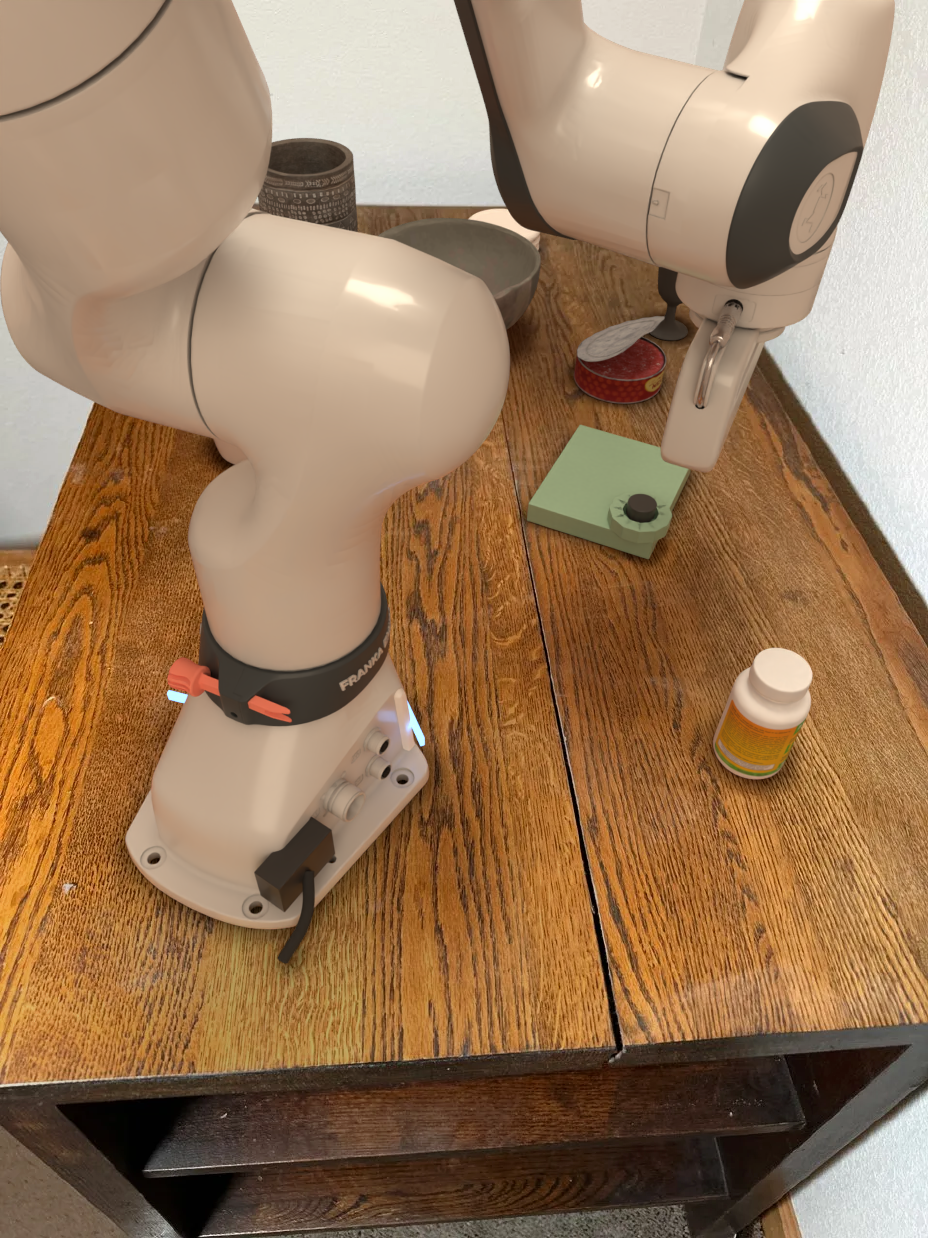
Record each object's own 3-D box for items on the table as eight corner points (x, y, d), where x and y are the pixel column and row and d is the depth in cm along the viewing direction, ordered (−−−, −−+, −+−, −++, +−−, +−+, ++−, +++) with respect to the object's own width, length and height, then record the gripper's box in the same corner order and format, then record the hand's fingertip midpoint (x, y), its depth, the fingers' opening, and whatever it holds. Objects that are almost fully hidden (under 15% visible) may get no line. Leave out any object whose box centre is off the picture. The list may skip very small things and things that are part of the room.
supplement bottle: (785, 788, 68) (826, 706, 61) (710, 774, 69) (743, 692, 62) (783, 729, 72) (821, 646, 65) (712, 717, 72) (743, 633, 65)
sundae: (690, 316, 115) (718, 192, 104) (698, 345, 110) (728, 218, 99) (636, 314, 115) (658, 190, 104) (642, 343, 110) (666, 216, 99)
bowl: (463, 276, 120) (465, 197, 113) (569, 345, 109) (579, 263, 102) (329, 321, 111) (323, 239, 104) (430, 402, 101) (430, 316, 93)
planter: (367, 274, 120) (362, 171, 110) (272, 284, 117) (258, 179, 108) (350, 232, 127) (344, 133, 118) (260, 241, 125) (247, 140, 116)
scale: (654, 567, 84) (661, 538, 81) (523, 525, 87) (526, 496, 85) (697, 475, 93) (704, 447, 90) (577, 440, 96) (581, 412, 94)
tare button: (649, 526, 83) (652, 515, 82) (621, 518, 84) (624, 506, 83) (658, 509, 84) (660, 498, 83) (630, 501, 85) (633, 490, 84)
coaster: (551, 245, 127) (554, 219, 124) (515, 273, 121) (517, 247, 118) (488, 225, 130) (490, 200, 128) (450, 252, 124) (450, 226, 122)
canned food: (605, 438, 105) (580, 382, 96) (572, 382, 110) (545, 324, 102) (697, 387, 103) (679, 325, 95) (658, 332, 108) (638, 269, 100)
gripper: (769, 359, 52) (713, 546, 62) (822, 221, 65) (768, 393, 75) (659, 333, 53) (621, 519, 63) (732, 204, 67) (692, 374, 77)
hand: (702, 450), depth 69 cm, fingers closed
